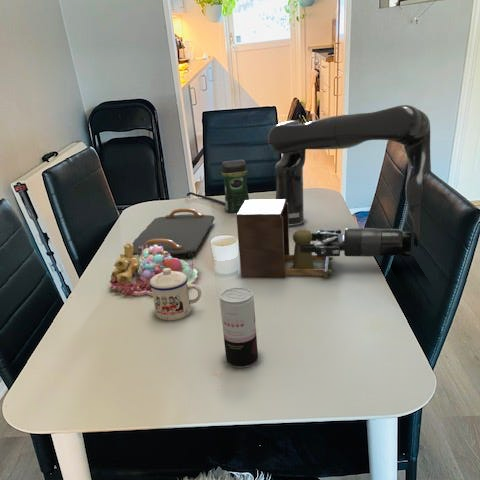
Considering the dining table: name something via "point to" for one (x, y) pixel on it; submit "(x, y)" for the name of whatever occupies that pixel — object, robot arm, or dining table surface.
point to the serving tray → (175, 232)
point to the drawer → (309, 271)
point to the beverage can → (239, 326)
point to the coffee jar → (235, 184)
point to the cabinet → (263, 238)
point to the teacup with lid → (172, 294)
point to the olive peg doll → (301, 258)
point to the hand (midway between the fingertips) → (301, 242)
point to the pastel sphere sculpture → (146, 269)
